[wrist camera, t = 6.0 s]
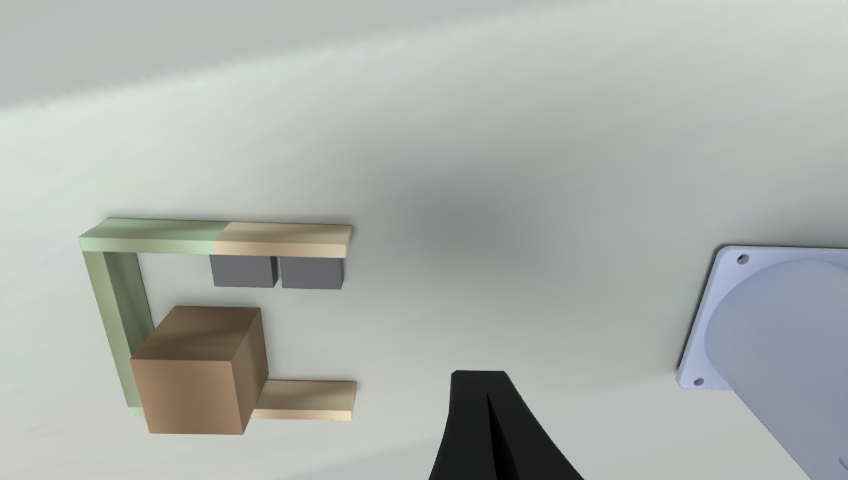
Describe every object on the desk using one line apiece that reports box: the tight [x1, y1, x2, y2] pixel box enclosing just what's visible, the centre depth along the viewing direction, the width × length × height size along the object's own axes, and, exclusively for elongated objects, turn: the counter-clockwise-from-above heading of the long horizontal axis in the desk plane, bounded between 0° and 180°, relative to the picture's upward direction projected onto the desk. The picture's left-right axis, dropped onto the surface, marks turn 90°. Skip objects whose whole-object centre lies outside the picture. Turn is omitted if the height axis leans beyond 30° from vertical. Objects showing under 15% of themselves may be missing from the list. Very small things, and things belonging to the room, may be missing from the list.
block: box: [129, 306, 269, 435], centre depth 21 cm, size 4×4×4 cm
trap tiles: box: [209, 254, 343, 289], centre depth 21 cm, size 6×2×1 cm, turn 88°
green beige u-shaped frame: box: [78, 218, 356, 420], centre depth 21 cm, size 10×9×2 cm
